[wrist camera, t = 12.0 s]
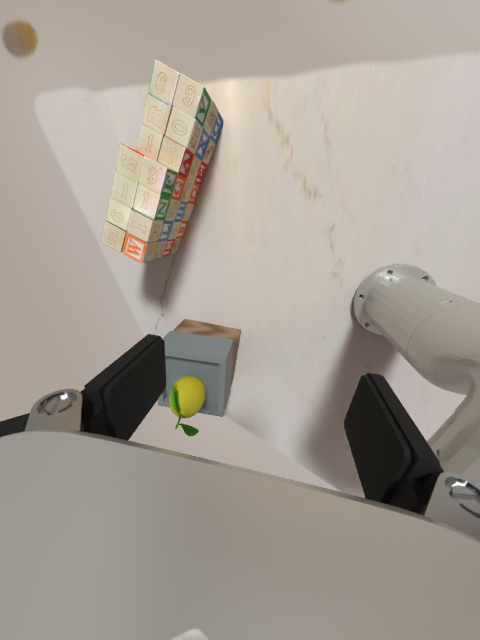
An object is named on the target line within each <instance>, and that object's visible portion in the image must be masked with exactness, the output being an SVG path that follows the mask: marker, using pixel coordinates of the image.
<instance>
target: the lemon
mask: <svg viewBox="0 0 480 640" xmlns="http://www.w3.org/2000/svg"><path fill="white" fill-rule="evenodd" d="M205 395H206V390H205V386H204V384H203V382H202V380H200V379H199V378H197V377H195V376H184V377H182V378H180V379H179V380H178V381H176V383H175V384H174V382H173V386H172V390H171V392H170V397H169V402H170V407H171V409H172V411H173V412H174V414H175V415H177V416H178V417H179V420H178V423H177V425H176V428H177V427H178V425H181V426H182V428H183V430H184V432H185V433H186V434H187V435H188V436H194V435H196V434H197V433H198V430H197V429H196V428H194V427H192V426H189V425H185V424H179V422H180V419H181V418H189V417H192V416H194V415H195V414H196V413H197V412H198V411H199V410H200V409H201V407H202V405H203V403H204V401H205ZM176 428H175V429H176Z"/></svg>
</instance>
